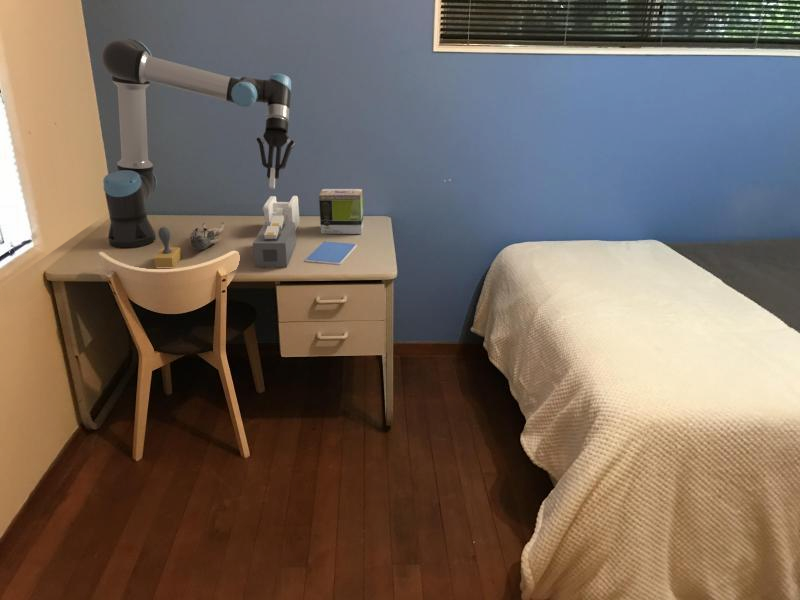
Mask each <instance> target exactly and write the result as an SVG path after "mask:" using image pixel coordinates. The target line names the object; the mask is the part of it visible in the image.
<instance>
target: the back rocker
mask: <svg viewBox="0 0 800 600" xmlns="http://www.w3.org/2000/svg"><path fill="white" fill-rule="evenodd" d="M283 221H284V216H273V217H272V220H271V224H270V226H279V230H282V226H283Z"/></svg>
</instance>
